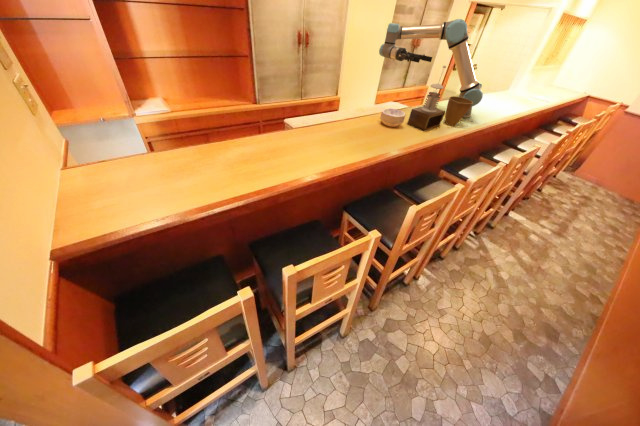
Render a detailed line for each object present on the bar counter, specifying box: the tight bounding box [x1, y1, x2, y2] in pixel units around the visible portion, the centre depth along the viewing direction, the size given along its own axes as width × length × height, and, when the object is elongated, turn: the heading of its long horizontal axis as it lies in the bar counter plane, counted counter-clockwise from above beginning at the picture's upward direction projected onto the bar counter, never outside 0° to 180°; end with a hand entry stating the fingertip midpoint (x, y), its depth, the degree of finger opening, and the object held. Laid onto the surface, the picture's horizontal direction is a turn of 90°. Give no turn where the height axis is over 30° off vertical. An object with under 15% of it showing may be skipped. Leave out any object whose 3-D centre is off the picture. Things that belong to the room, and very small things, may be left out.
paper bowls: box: [379, 107, 406, 128], centre depth 157 cm, size 15×15×8 cm
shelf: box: [406, 106, 446, 132], centre depth 160 cm, size 19×13×10 cm
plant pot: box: [444, 95, 473, 126], centre depth 166 cm, size 15×15×16 cm
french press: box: [421, 65, 447, 112], centre depth 149 cm, size 10×12×25 cm
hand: (425, 59), depth 154 cm, fingers open, 13 cm apart
